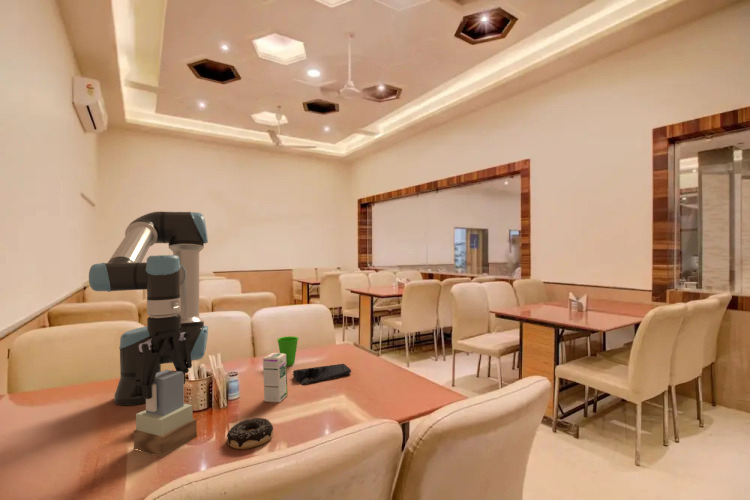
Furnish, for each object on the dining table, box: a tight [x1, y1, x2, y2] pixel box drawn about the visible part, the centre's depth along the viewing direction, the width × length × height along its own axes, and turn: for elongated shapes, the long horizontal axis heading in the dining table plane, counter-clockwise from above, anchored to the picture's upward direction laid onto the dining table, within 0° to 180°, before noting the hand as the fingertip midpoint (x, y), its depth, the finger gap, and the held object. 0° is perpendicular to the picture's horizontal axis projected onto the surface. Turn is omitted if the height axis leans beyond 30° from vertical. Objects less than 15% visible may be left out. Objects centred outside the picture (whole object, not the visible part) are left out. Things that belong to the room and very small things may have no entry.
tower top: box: [135, 403, 194, 436], centre depth 95 cm, size 9×9×4 cm
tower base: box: [133, 418, 198, 458], centre depth 96 cm, size 10×10×5 cm
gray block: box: [145, 369, 185, 416], centre depth 95 cm, size 6×6×9 cm
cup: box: [276, 336, 300, 367], centre depth 160 cm, size 9×9×11 cm
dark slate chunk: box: [292, 363, 352, 386], centre depth 146 cm, size 15×22×5 cm
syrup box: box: [262, 352, 288, 403], centre depth 123 cm, size 6×6×14 cm
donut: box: [226, 417, 274, 450], centre depth 97 cm, size 11×12×4 cm
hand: (165, 403), depth 95 cm, fingers open, 7 cm apart
